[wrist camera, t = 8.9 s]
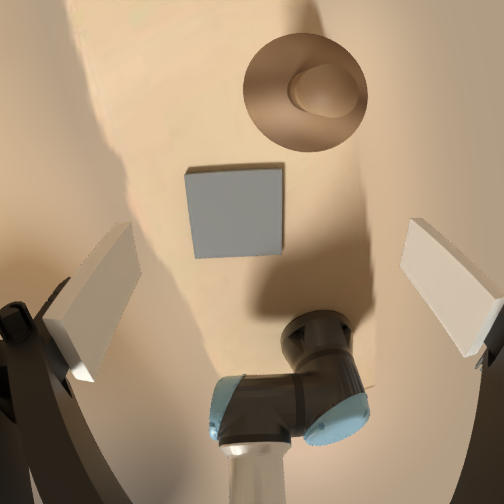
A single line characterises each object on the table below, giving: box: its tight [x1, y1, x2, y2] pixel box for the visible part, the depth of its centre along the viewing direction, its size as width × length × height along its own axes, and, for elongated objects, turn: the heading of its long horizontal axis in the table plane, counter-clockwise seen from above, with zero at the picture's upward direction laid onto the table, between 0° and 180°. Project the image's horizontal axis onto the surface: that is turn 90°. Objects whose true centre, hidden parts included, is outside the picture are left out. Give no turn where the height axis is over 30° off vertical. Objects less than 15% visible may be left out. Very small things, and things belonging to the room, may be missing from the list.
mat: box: [184, 168, 282, 259], centre depth 45 cm, size 14×14×1 cm
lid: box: [243, 33, 368, 152], centre depth 21 cm, size 12×12×9 cm
